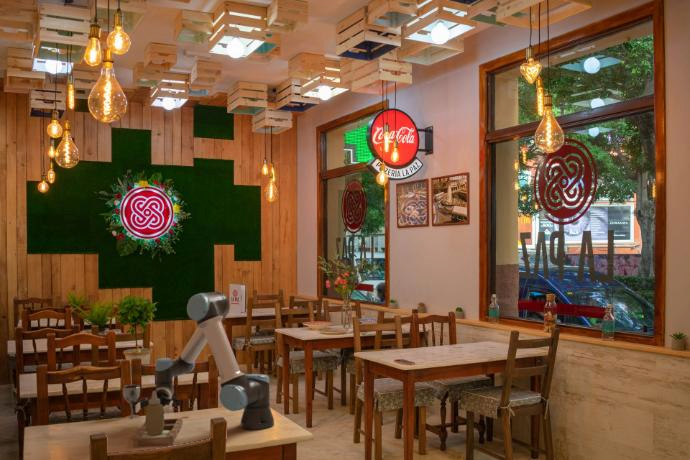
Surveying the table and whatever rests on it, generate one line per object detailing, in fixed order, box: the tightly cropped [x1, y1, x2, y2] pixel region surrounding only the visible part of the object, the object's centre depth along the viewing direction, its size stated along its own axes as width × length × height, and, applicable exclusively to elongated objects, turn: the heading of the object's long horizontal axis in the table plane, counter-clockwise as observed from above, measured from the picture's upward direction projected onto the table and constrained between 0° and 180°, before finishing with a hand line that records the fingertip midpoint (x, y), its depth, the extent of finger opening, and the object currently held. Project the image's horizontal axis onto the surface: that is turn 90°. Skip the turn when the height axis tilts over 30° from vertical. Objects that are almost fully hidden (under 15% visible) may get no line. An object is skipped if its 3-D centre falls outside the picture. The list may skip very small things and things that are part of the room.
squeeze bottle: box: [144, 390, 165, 435], centre depth 275 cm, size 8×8×18 cm
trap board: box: [132, 417, 183, 448], centre depth 285 cm, size 32×16×3 cm, turn 7°
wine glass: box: [122, 384, 141, 420], centre depth 319 cm, size 8×8×15 cm
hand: (153, 408), depth 272 cm, fingers open, 13 cm apart
